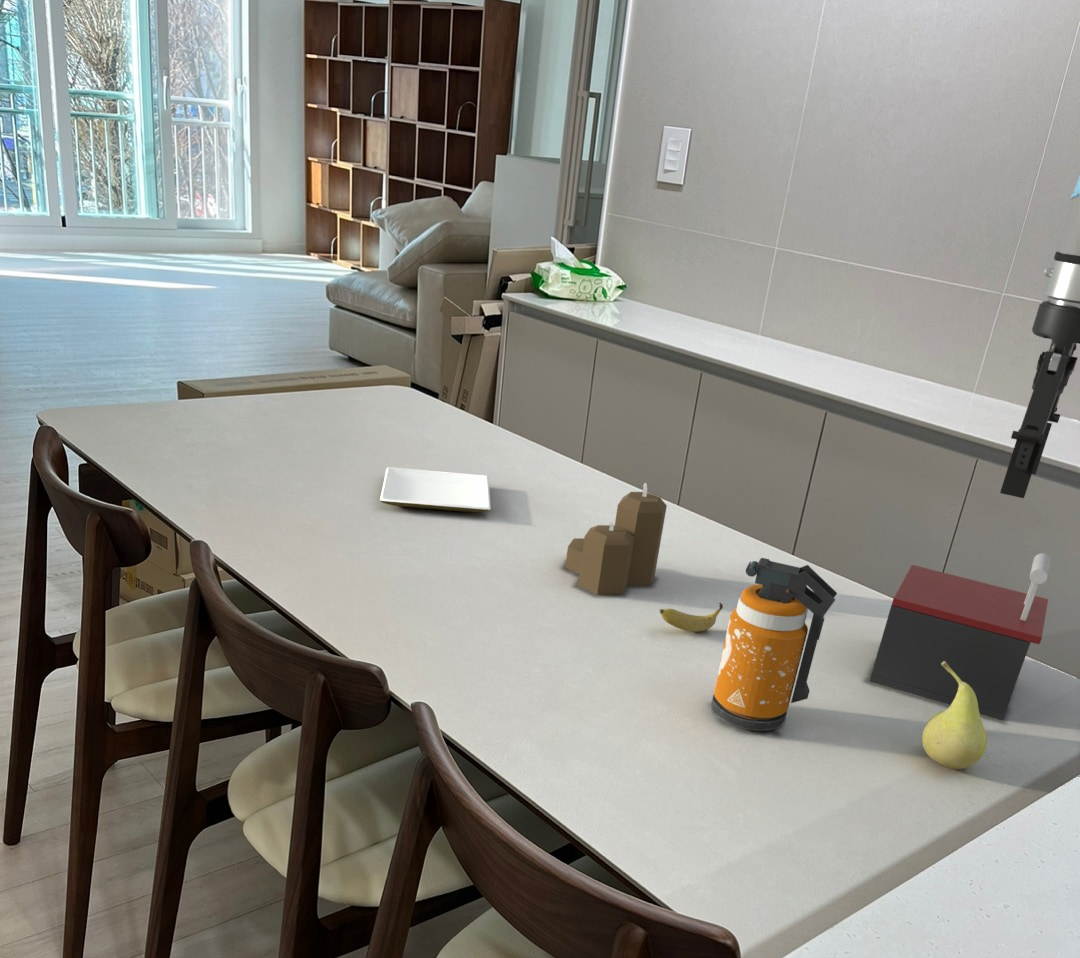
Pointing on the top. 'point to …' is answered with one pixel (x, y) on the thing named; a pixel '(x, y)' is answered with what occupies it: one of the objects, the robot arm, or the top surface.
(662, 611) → the banana
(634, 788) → the top surface
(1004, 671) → the dark grey open box
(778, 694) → the canister
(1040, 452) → the robot arm
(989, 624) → the lid
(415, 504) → the plate
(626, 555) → the candle
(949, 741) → the fruit
